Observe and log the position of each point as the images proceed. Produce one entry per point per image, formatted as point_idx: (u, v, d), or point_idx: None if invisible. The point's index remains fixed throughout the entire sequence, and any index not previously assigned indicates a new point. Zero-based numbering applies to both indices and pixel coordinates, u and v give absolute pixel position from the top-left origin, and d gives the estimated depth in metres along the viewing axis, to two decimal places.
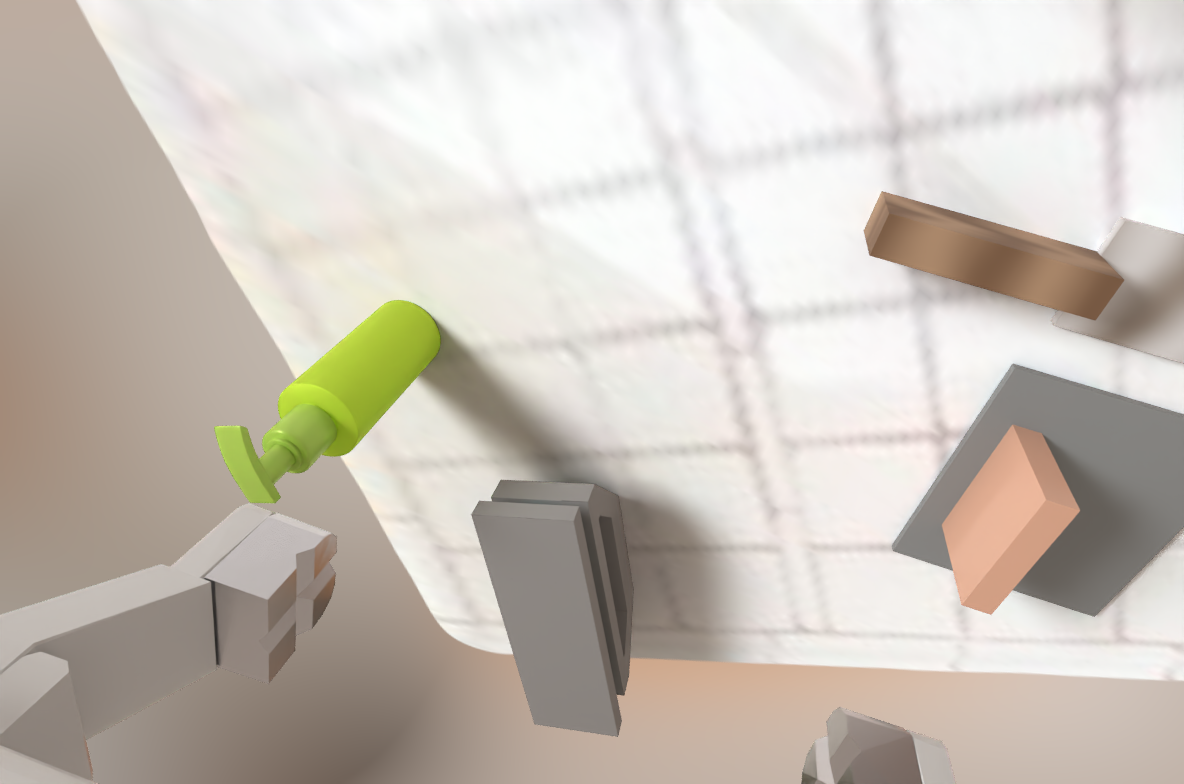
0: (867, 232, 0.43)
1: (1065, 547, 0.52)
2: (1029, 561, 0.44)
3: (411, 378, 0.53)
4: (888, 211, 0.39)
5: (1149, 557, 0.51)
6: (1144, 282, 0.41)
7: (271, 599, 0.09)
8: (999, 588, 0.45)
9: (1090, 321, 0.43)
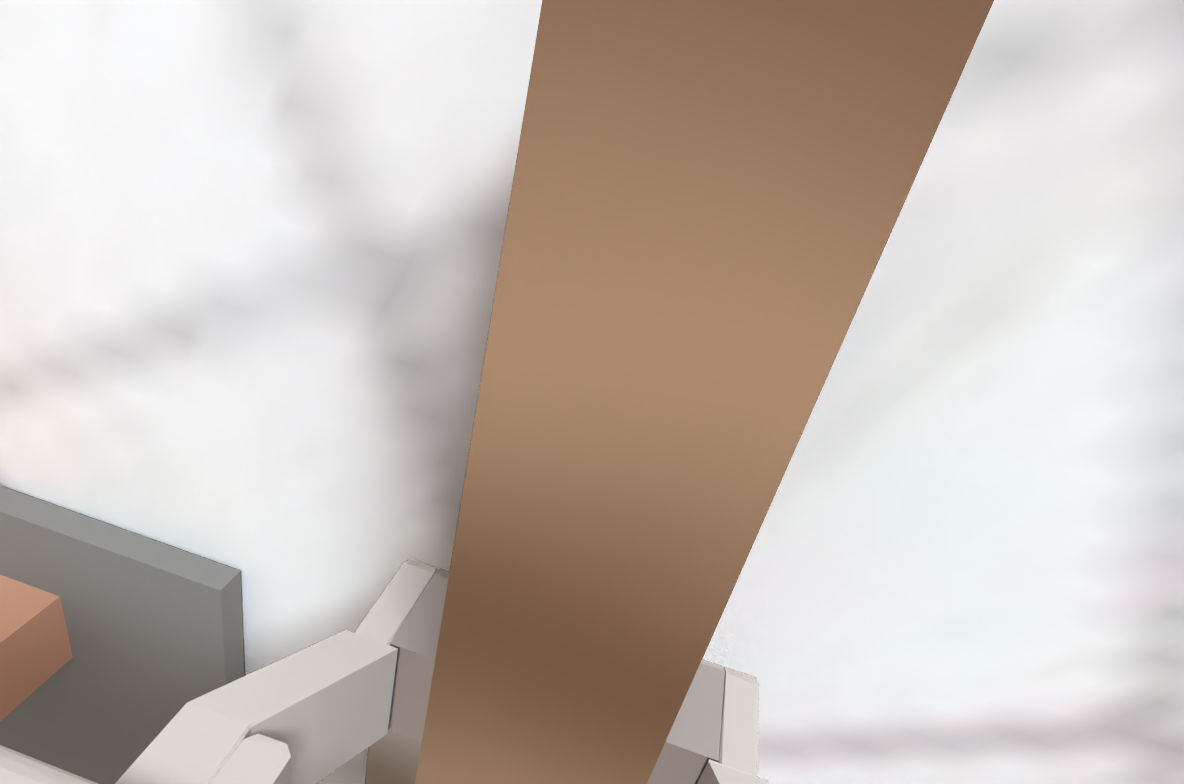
0: None
1: None
2: None
3: None
4: None
5: None
6: None
7: None
8: None
9: (410, 740, 0.14)
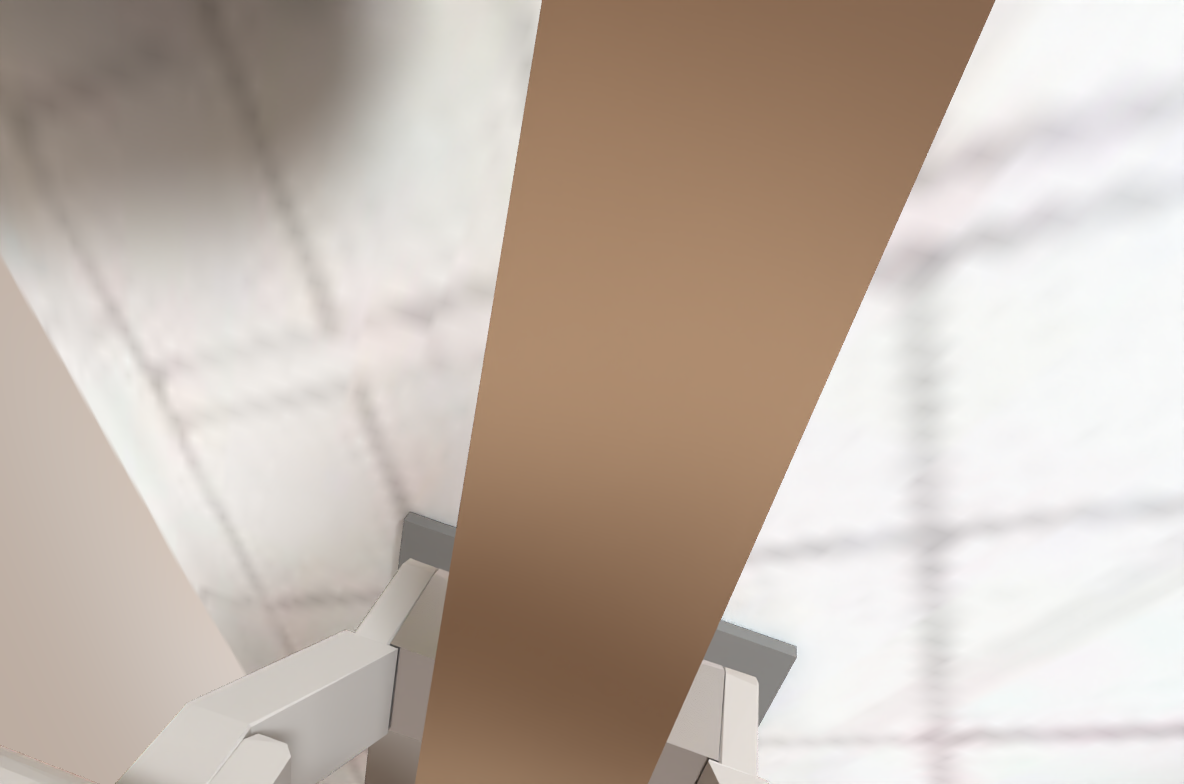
0: None
1: None
2: None
3: None
4: None
5: None
6: None
7: None
8: None
9: (410, 744, 0.14)
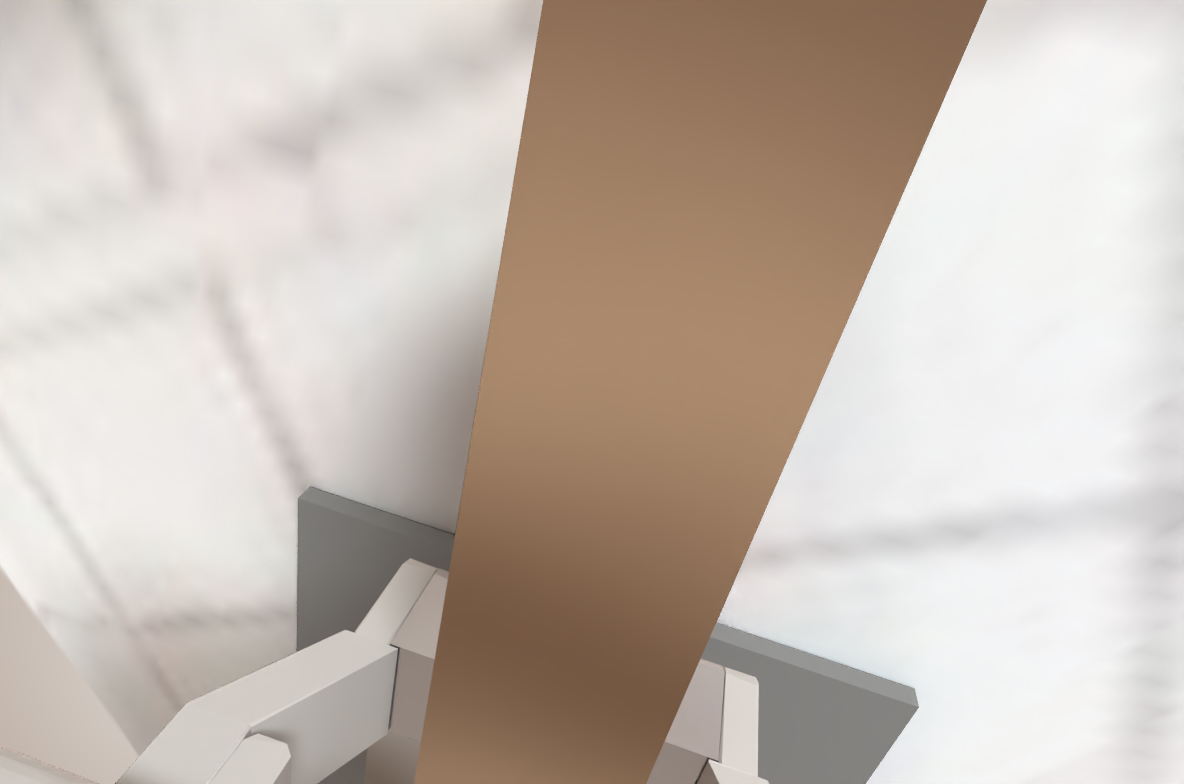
0: None
1: None
2: None
3: None
4: None
5: None
6: None
7: None
8: None
9: (409, 746, 0.14)
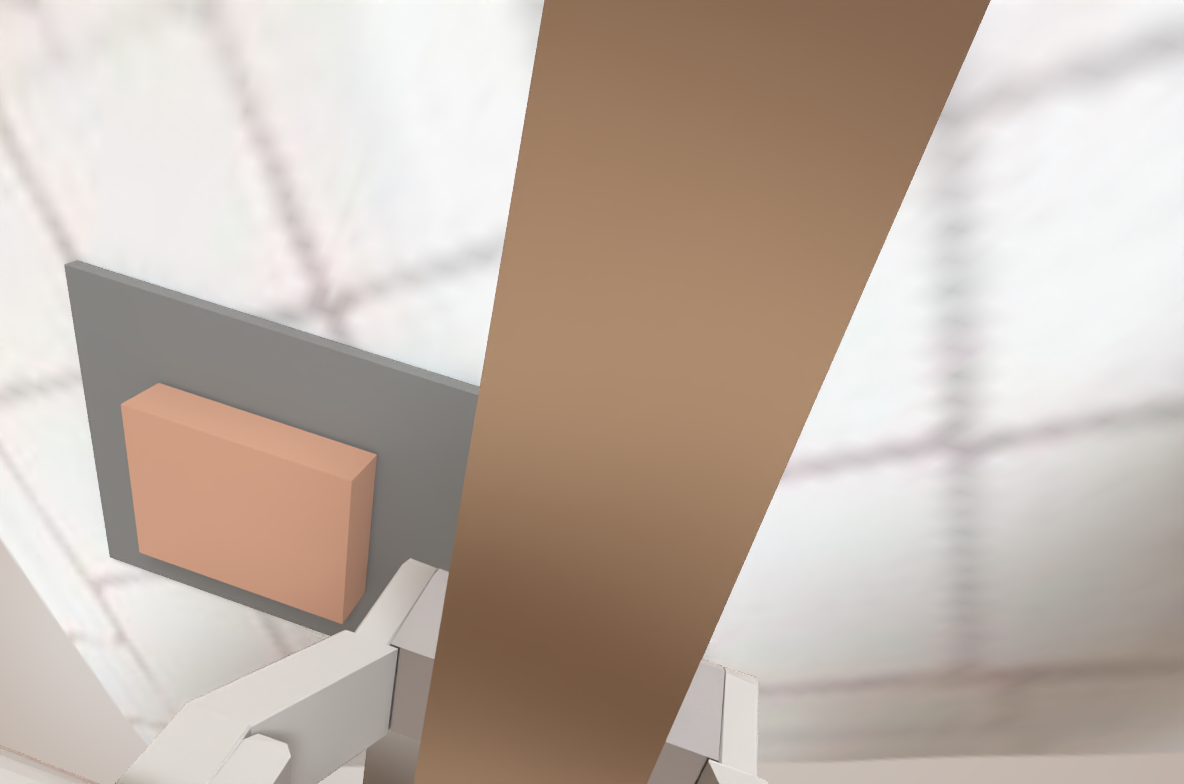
0: None
1: None
2: None
3: None
4: None
5: (232, 597, 0.35)
6: None
7: None
8: None
9: (408, 748, 0.14)
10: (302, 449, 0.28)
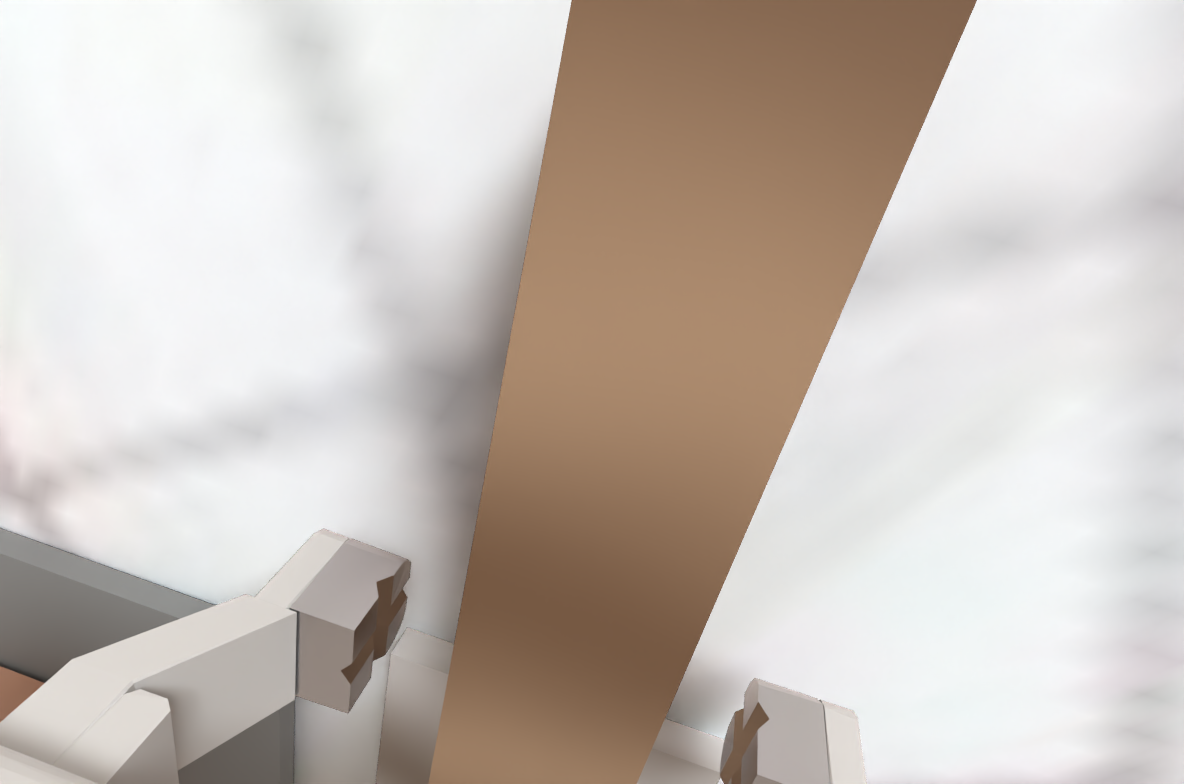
0: None
1: None
2: None
3: None
4: None
5: None
6: None
7: (356, 629, 0.09)
8: None
9: (423, 720, 0.15)
10: None
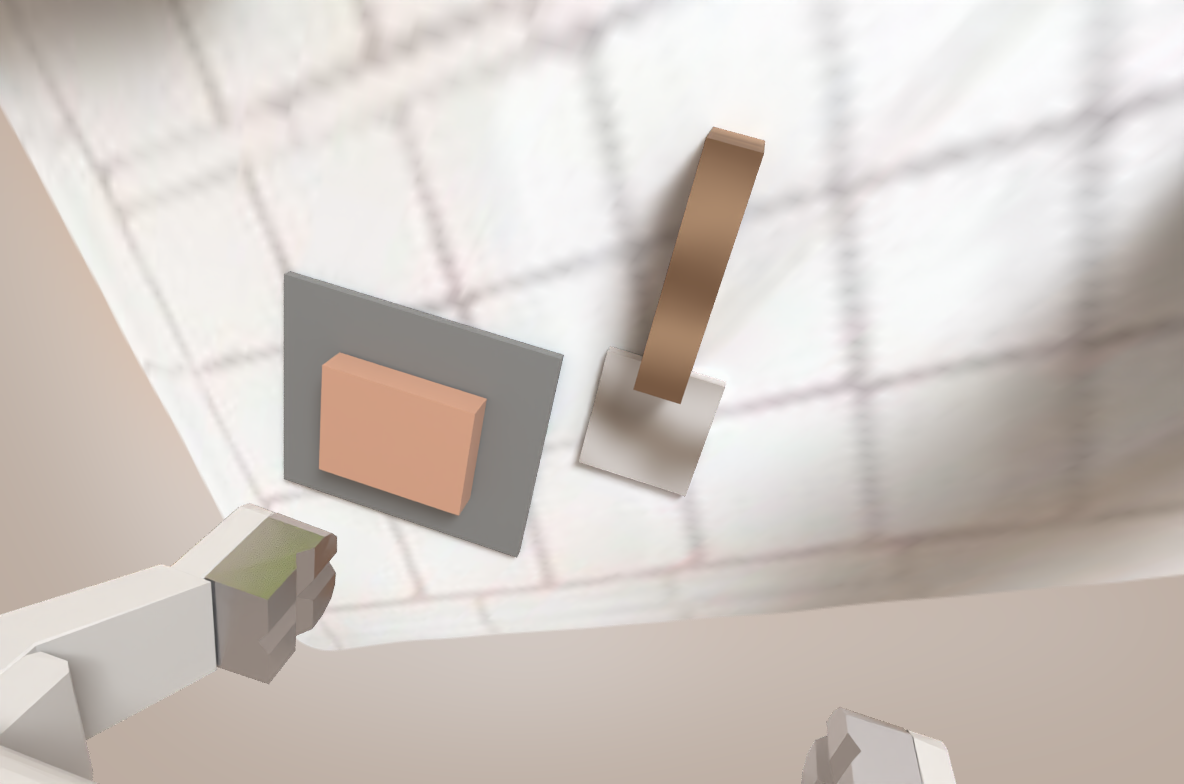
0: (718, 131, 0.33)
1: None
2: None
3: None
4: None
5: (372, 505, 0.50)
6: (660, 415, 0.41)
7: (271, 599, 0.09)
8: None
9: (615, 381, 0.41)
10: (440, 394, 0.43)
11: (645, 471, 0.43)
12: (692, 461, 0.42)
